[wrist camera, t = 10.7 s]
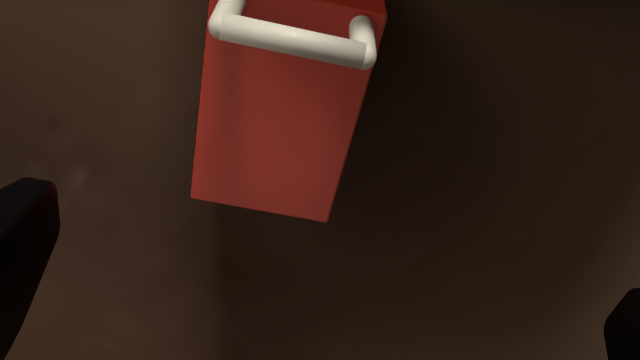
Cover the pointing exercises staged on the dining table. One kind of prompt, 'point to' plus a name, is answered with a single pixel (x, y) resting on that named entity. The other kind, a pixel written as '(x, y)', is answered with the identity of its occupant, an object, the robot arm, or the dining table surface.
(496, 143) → the dining table surface
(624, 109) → the dining table surface
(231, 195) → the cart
